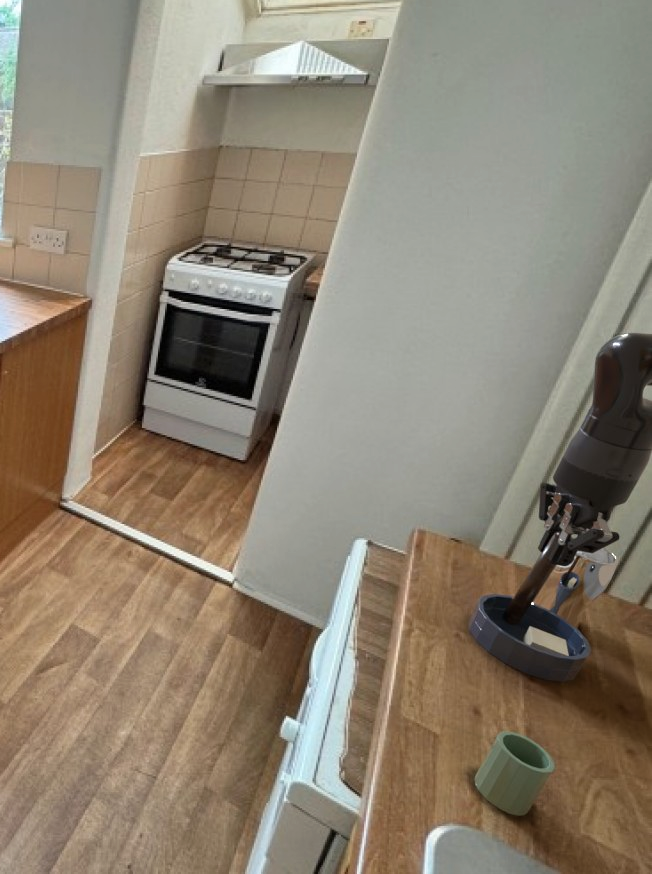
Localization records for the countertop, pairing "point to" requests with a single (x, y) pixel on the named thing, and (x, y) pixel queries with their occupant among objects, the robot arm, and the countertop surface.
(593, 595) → the beer glass
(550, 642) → the block
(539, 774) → the pot
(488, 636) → the bowl
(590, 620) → the countertop surface
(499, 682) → the countertop surface
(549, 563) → the stir stick
